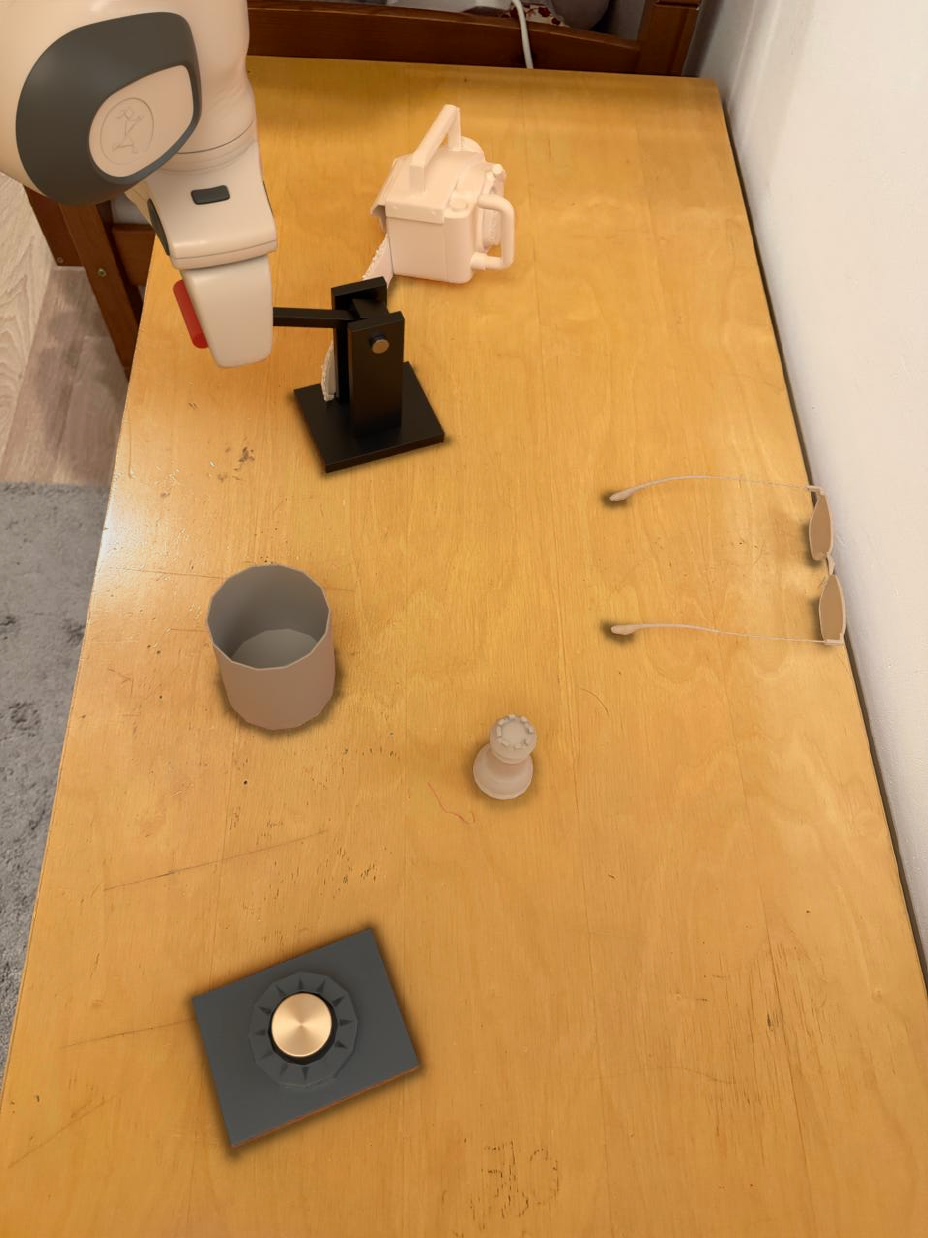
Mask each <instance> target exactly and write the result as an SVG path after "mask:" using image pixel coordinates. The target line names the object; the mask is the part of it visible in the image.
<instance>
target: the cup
mask: <svg viewBox="0 0 928 1238" xmlns="http://www.w3.org/2000/svg"><path fill="white" fill-rule="evenodd" d="M204 623H205V626H206V629H207V632H208V635H209V639H210V643H211V645H212V649H213V652H214V655H215V658H216V662H217V665H218V669H219V672H220V675H221V678H222V679H221V680H222V683H223V685H224V688H225V691H226V695H227V698H228V701H229V705H230V707H231V708H232V709H233V710H234V711H235V712H236V713H237V714H238V715H239V716H240V717H241V718H242V719H243V720H244V721H245V722H246V723H247V724H250V725H253V726H256V727H257V726H258V728H259V727H260V728H263V729H266V730H268V731H278V730H286V729H296V728H298V727H300V726H302V725H304V724H305V723H307V722H309V721H311V720H313V719H315V718H316V717H318V716H319V715H320V714H321V713H322V712H323V710H324V708H325V707H326V705H328V703H329V701H331V699H332V697H333V695H334V689H335V681H336V675H337V671H336V660H335V648H334V647H335V646H334V645H335V644H334V634H333V619H332V609H331V607H330V604H329V601H328V598H327V596H326V593H325V590H324V587H322V586H321V585H320V584H319V583H318V582H317V581H316V580H314V578H313V577H311V576H310V575H309V574H308V573H307V572H306V571H305V570H302V569H298V568H295V567H292V566H289V565H285V564H282V563H268V564H266V563H265V564H256V565H255V564H253V565H250V566H248V567H246V568H244V569H242V570H240V571H238V572H236V573H234V574H232V575H230V576H227V577H226V579H225V580H224V581H223V582H222V583H221V585H220V586H219V587H218V588H217V589H216V591H214V593H213V594H212V595H211V596H210V599H209V603H208V607H207V611H206V616H205V622H204Z"/></svg>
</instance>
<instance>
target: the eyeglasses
mask: <svg viewBox="0 0 928 1238" xmlns="http://www.w3.org/2000/svg"><path fill="white" fill-rule="evenodd" d="M687 479H719V480H720V479H721V480H730V481H740V482H741V481H742V482H751V483H761V484H769V485H776V486H783V487H789V488H797V489H803V490H804V491H805V492H813V493H817V497H818V498H817V499H816V502H815V504H814V507H813V510H812V513H811V517H810V520H809V524H808V541H809V547H810V553H811V557H812V560H814V561H823V560H825V559H827V563H828V578H827V576H826V575H824V577H823V579H822V581H821V582H820V584H819V585H818V587H817V589H818V590H820V588H821V587H822V586H823V589H822V591H821V595H820V597H819V601H818V617H819V626H820V627H819V628H820V632H821V633H820V634H821V637H822V639H823V640H816V639H801V638H799V639H798V638H783V637H774V636H773V637H772V636H763V635H754V634H744V633H738V632H737V633H736V632H730V631H729V632H728V631H723V630H720V629H714V628H708V627H704V626H698V625H693V624H687V623H685V624H684V623H670V622H669V623H668V622H667V623H663V622H662V623H660V622H658V623H657V622H655V623H652V622H651V623H649V622H648V623H636V624H633V623H632V624H631V623H627V624H617V625H612V626H611V627H610V631H611V633H612V634H617V635H622V636H628V635H630V634H633V633H635V632H637V631H641V630H648V629H655V628H656V629H657V628H683V629H695V630H698V631H699V630H700V631H704V632H705V631H706V632H710V633H715V634H727V635H734V636H742V637H750V638H758V639H759V638H760V639H768V640H770V639H771V640H782V641H793V642H794V641H795V642H810V643H822V644H823V645H824V646H830V647H831V646H832V647H843V646H844V645H845V640H844V638H845V637H844V635H845V633H846V626H847V616H846V615H847V614H846V613H847V612H846V604H845V597H844V593H843V589H842V584H841V581H840V578H839V576H838V575H836V574H835V573H834V568H835V565H836V561H835V560H834V559H833V557H832V555H831V554H832V552H833V548H834V543H835V542H834V541H835V539H834V537H835V536H834V535H835V533H834V532H835V531H834V519H833V514H832V508H831V503H830V500H829V498H828V496H827V495H825V493H824V489H823V486H819V485H811V484H806V485H805V486H799V485H793V484H785V483H777V482H772V481H771V482H770V481H764V480H763V481H762V480H754V479H745V478H733V477H724V476H723V477H722V476H710V475H679V476H672V477H666V478H660V479H657V480H653V481H648V482H645V483H641V484H638V485H635V486H632V487H629V488H625V489H623V490H621V491H618V492H615V493H612V494H611V495H610V496H609V497H608V498H609V500H610V501H611V502H619V501H624V500H626V499H628V498H629V497H630V496H632V495H633V494H635V493H637V492H638V491H640V490H643V489H646V488H648V487H651V486H654V485H657V484H661V483H665V482H666V483H667V482H671V481H677V480H678V481H679V480H687Z"/></svg>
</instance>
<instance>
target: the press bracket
mask: <svg viewBox="0 0 928 1238" xmlns="http://www.w3.org/2000/svg"><path fill="white" fill-rule="evenodd" d="M362 280H363V279H362ZM362 280H359V281H358V280H357V281H354V282H350V283H346V284H341V285H336V286H332V287H330V303H331V310H348V308H349V305H350V303H351V300H352V299H370V300H383V301H384V303H385V305H386V307H387V308H388V289H387V283H386V281H385V279H384V277H383V276H381V277H376V278H372V279H367V280H363V281H362ZM347 326H348V331H347V329H337V328H332V339H333V345H334V365H335V385H336V392H335V393H334V394H332V395H334V398H333V399H332V400H329V401H325V400H324V395H323V391H322V386H321V382H318V383H313V384H310V385H306V386H302V387H299V388H294V389H293V399H294V402H295V403H296V406H297V408H298V410H299V413H300V416H301V418H302V420H303V422H304V425H305V427H306V429H307V432H308V434H309V437H310V439H311V441H312V444H313V446H314V448H315V451H316V454H317V456H318V458H319V460H320V464H321V466H322V468H323V471H324V472H325V474H330V473H334V472H338V471H341V470H345V469H349V468H351V467H352V468H353V467H356V466H359V465H360V466H361V465H364V464H366V463H371V462H376V461H378V460H381V459H386V458H390V457H394V456H397V455H400V454H404V453H408V452H412V451H416V450H419V449H422V448H426V447H430V446H433V445H437V444H440V443H444V442H445V435H446V434H445V431H444V429H443V427H442V424H441V423H440V421H439V419H438V417H437V415H436V413H435V411H434V409H433V407H432V405H431V403H430V401H429V400H428V398H427V394H426V393H425V391H424V389H423V387H422V385H421V383H420V381H419V379H418V377H417V374H416V373H415V371H414V369H413V367H412V365H411V363H410V361H409V360H407V361H405V358H404V357H405V335H406V334H405V331H406V318H405V316H404V314H403V312H402V311H401V310H397V311H394V312H393V311H392V312H389V314H385V315H380V316H376V317H372V318H368V319H363V320H359V321H355V322H351V323H348V324H347ZM326 399H327V398H326Z"/></svg>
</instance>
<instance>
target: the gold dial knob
mask: <svg viewBox="0 0 928 1238" xmlns="http://www.w3.org/2000/svg"><path fill="white" fill-rule="evenodd" d="M332 1030H333V1023H332V1018H331V1014H330V1011H329V1009H328V1007H327V1005H326V1004H325V1003H324V1002H323V1001H322V1000H321V999H320V998H318V997H317V996H315V995H312V994H308V993H300V994H295V995H292V996H290V997H288V998H287V999H285V1000H284V1001H283V1002H282V1003H281V1004H280V1005H279V1006H278V1008H277V1009H276V1011H275V1013H274V1015H273V1019H272V1024H271V1031H272V1036H273V1039H274V1041H275V1043H276V1045H277V1046H278V1048H279V1049H280V1050H281V1051H282V1053H284V1054H285V1055H286V1056H288V1057H290V1058H292V1059H296V1060H306V1059H310V1058H313V1057H315V1056H317V1055H318V1054H320V1053H321V1052H322V1051H323V1050H324V1049H325V1048H326V1046H327V1045H328V1043H329V1041H330V1039H331V1035H332Z"/></svg>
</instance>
